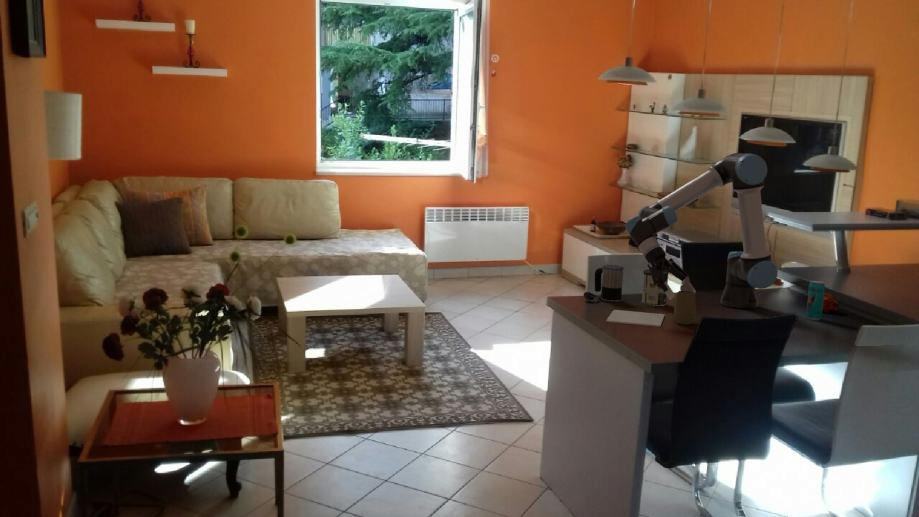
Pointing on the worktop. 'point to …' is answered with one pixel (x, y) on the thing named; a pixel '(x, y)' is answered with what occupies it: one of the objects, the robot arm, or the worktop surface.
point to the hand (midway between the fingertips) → (683, 295)
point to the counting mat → (636, 318)
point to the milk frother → (608, 283)
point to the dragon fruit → (829, 303)
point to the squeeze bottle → (685, 304)
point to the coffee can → (653, 290)
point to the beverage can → (815, 300)
